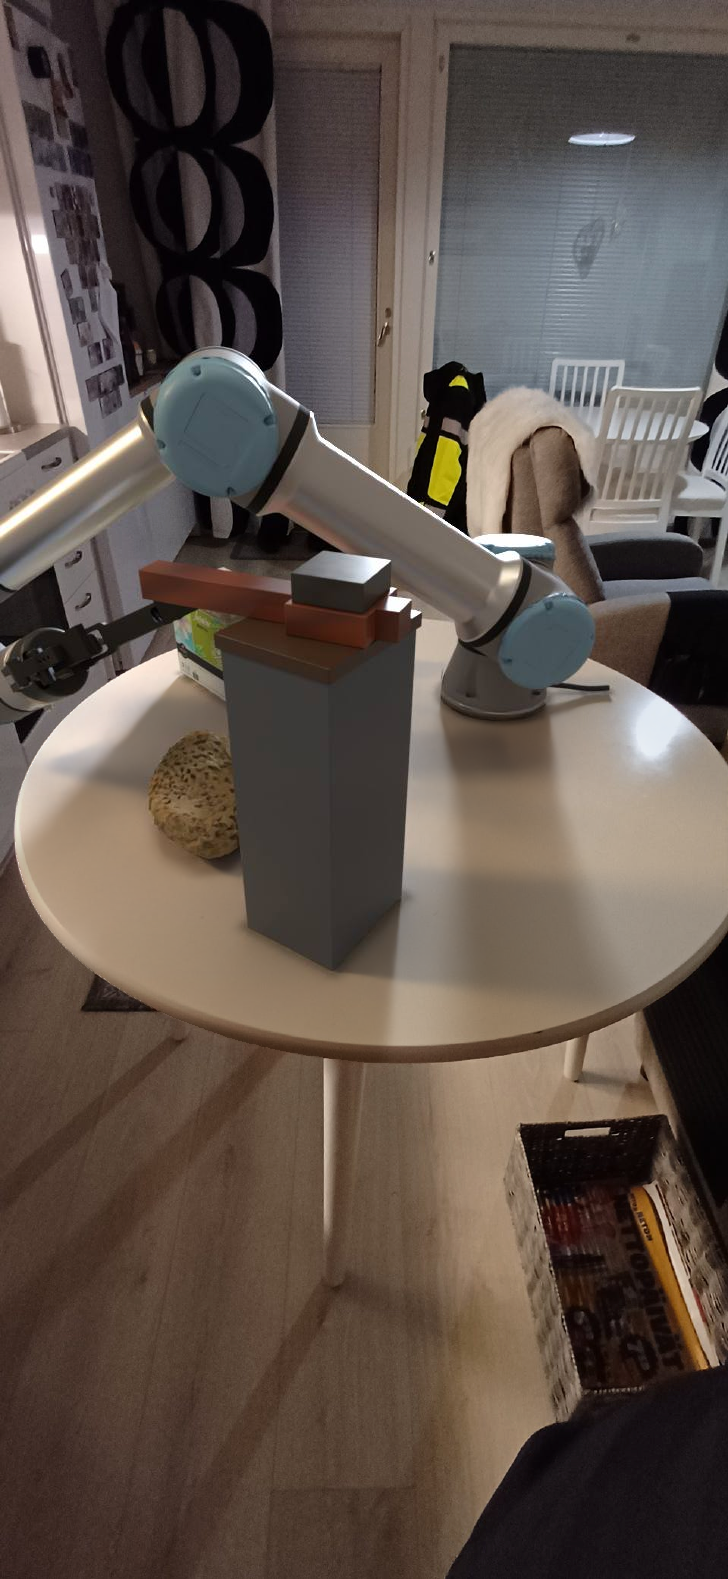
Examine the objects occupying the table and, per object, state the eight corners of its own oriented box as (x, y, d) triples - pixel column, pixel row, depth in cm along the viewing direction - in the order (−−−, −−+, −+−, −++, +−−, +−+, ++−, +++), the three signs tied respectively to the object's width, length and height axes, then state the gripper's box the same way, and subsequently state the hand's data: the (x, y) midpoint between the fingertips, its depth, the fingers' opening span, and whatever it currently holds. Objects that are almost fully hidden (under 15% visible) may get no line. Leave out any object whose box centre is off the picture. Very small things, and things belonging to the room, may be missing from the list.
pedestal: (242, 927, 74) (212, 633, 57) (320, 857, 83) (314, 584, 66) (333, 974, 70) (329, 669, 53) (405, 895, 78) (422, 612, 61)
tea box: (177, 673, 119) (164, 579, 110) (232, 655, 124) (224, 564, 116) (233, 709, 110) (224, 609, 101) (290, 688, 115) (285, 592, 107)
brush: (128, 606, 61) (119, 548, 59) (174, 581, 66) (167, 526, 64) (389, 653, 55) (391, 590, 52) (418, 621, 60) (421, 562, 57)
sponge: (173, 775, 98) (108, 846, 80) (181, 718, 95) (115, 777, 76) (274, 801, 98) (232, 878, 79) (285, 744, 95) (244, 810, 76)
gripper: (143, 661, 94) (254, 610, 80) (-45, 749, 77) (53, 705, 63) (113, 603, 92) (221, 540, 78) (-87, 680, 75) (4, 618, 61)
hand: (146, 614), depth 70 cm, fingers open, 13 cm apart
